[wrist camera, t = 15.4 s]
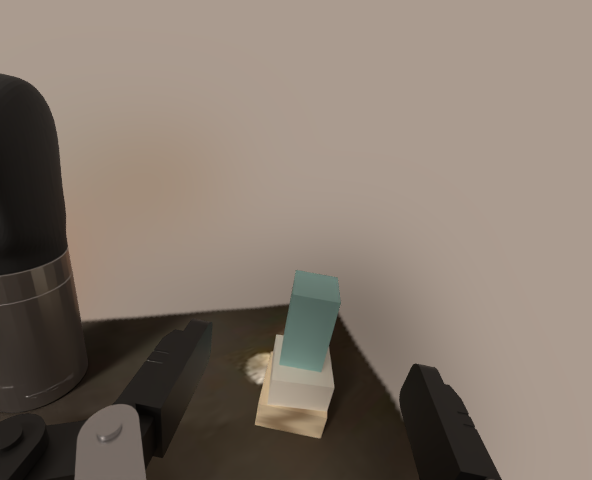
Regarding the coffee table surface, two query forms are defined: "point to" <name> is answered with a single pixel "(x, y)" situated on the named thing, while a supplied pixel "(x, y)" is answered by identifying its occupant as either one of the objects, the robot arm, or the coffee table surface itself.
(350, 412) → the coffee table surface
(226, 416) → the coffee table surface
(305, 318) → the teal block
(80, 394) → the coffee table surface
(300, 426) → the tower base block
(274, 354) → the tower top block
